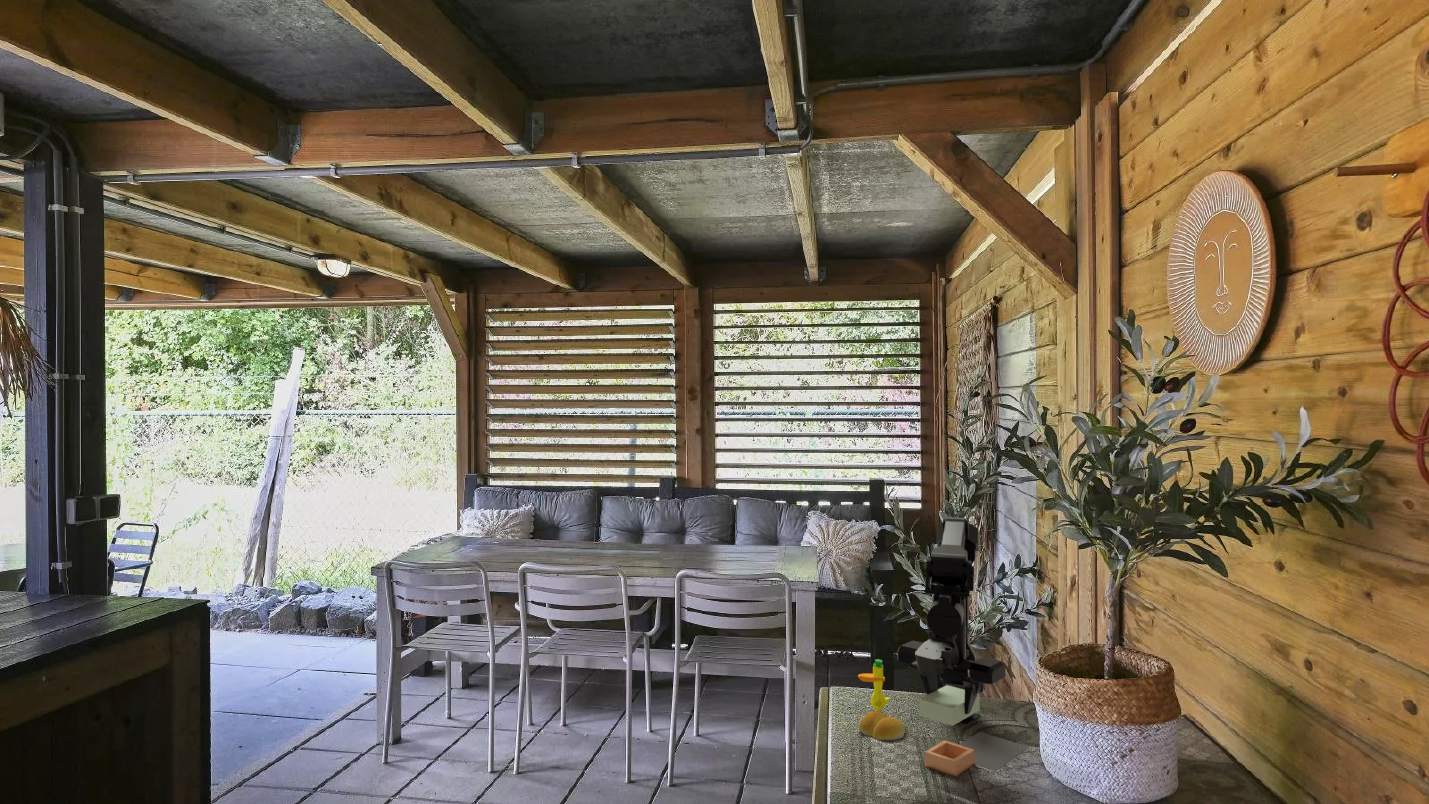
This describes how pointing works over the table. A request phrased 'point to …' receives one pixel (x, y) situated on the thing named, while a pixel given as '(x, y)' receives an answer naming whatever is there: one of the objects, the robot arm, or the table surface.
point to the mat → (992, 750)
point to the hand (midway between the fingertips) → (949, 708)
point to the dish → (949, 758)
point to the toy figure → (876, 685)
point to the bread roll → (881, 726)
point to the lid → (946, 705)
